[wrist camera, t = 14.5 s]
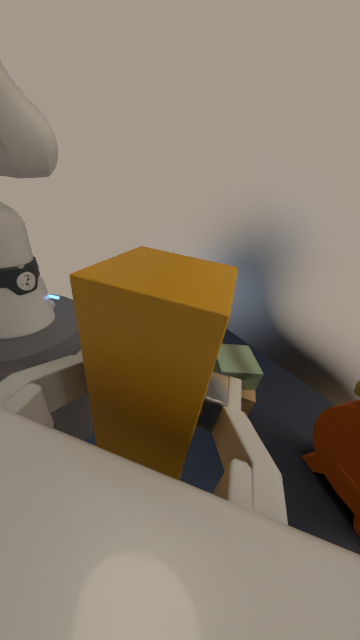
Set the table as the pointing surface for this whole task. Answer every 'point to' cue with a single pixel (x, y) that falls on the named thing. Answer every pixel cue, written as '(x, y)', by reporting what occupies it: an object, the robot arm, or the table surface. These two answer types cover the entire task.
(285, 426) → the table surface
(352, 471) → the alarm clock
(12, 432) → the robot arm
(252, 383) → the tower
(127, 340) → the bar
